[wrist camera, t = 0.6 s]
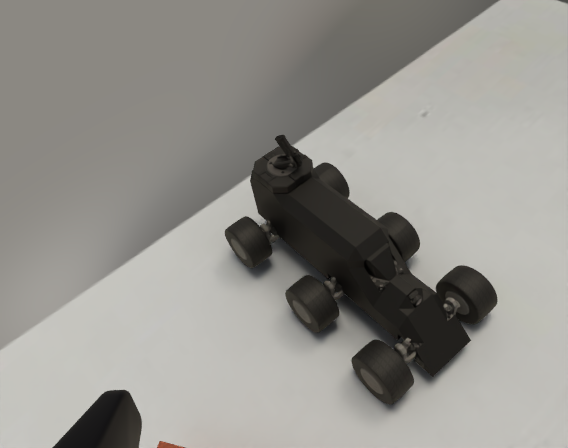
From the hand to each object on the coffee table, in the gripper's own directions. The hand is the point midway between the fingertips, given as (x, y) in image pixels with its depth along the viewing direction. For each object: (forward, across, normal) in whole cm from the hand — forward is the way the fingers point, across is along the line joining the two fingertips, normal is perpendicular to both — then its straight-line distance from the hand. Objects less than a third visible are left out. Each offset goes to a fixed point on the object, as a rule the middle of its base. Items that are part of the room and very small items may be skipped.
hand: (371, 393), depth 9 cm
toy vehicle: (+18, 0, +14) cm, 23 cm away
